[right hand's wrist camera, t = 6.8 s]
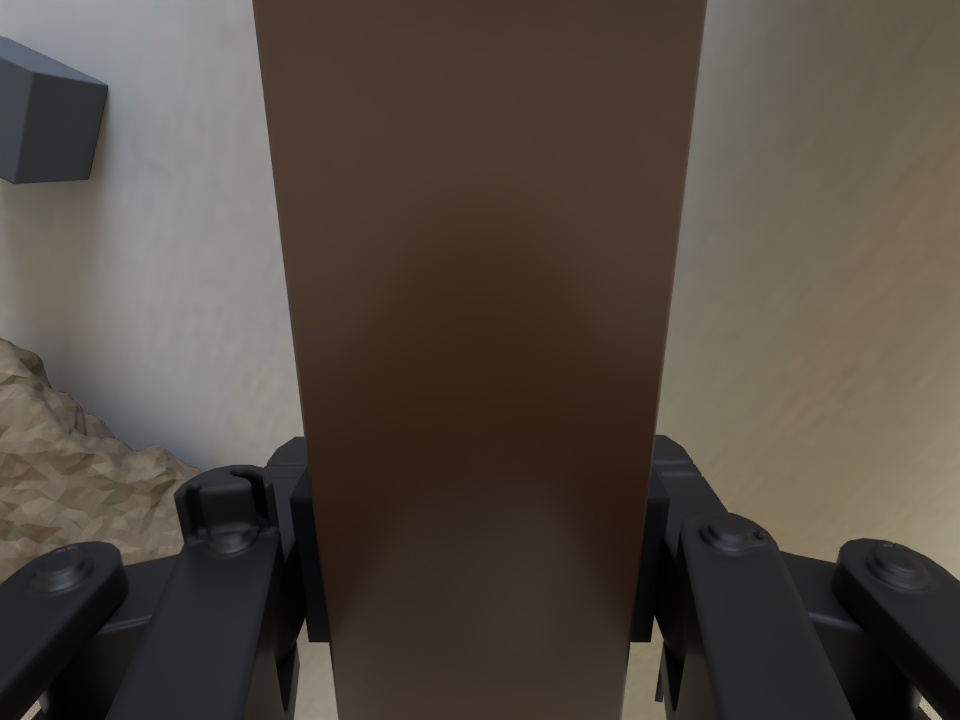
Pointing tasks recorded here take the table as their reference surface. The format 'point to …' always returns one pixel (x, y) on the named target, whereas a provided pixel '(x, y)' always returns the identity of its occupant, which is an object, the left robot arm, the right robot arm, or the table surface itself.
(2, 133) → the slate cube
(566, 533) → the walnut bar
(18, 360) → the stone
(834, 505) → the table surface
